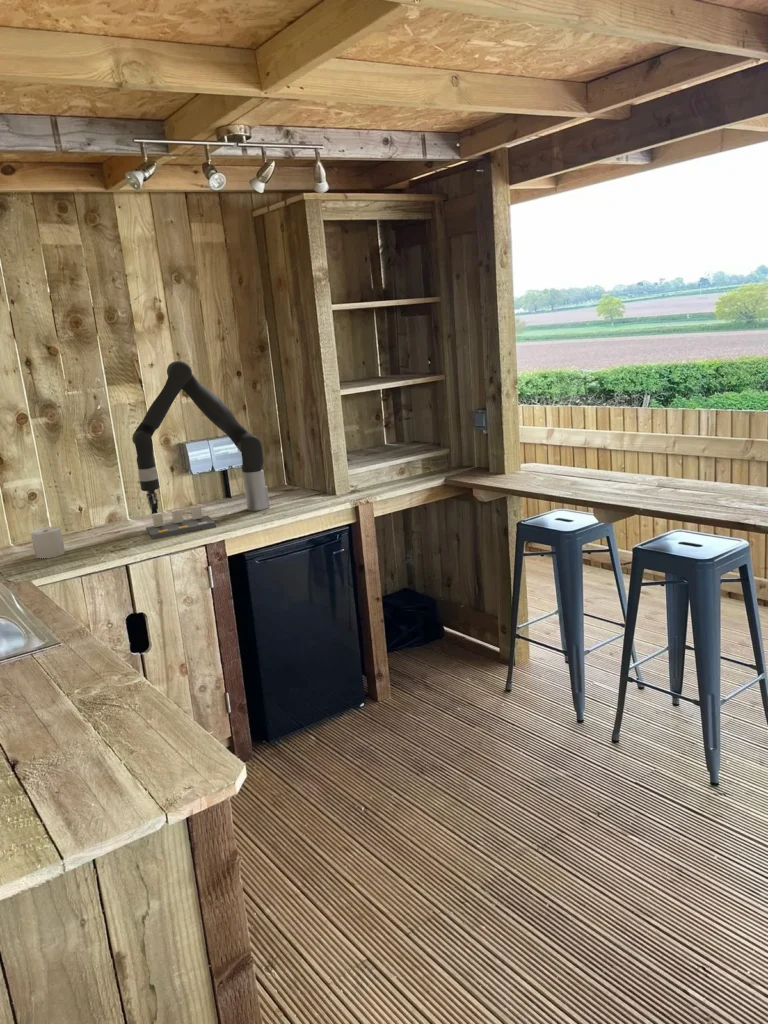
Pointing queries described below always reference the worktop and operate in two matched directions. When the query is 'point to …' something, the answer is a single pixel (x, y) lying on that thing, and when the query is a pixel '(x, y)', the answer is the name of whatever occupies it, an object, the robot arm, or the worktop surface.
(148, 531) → the switch board
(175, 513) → the slider middle
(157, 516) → the slider
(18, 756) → the worktop surface
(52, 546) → the toilet tissue
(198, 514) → the slider
